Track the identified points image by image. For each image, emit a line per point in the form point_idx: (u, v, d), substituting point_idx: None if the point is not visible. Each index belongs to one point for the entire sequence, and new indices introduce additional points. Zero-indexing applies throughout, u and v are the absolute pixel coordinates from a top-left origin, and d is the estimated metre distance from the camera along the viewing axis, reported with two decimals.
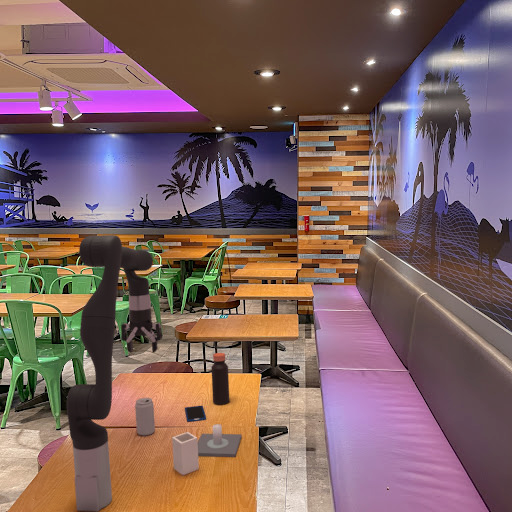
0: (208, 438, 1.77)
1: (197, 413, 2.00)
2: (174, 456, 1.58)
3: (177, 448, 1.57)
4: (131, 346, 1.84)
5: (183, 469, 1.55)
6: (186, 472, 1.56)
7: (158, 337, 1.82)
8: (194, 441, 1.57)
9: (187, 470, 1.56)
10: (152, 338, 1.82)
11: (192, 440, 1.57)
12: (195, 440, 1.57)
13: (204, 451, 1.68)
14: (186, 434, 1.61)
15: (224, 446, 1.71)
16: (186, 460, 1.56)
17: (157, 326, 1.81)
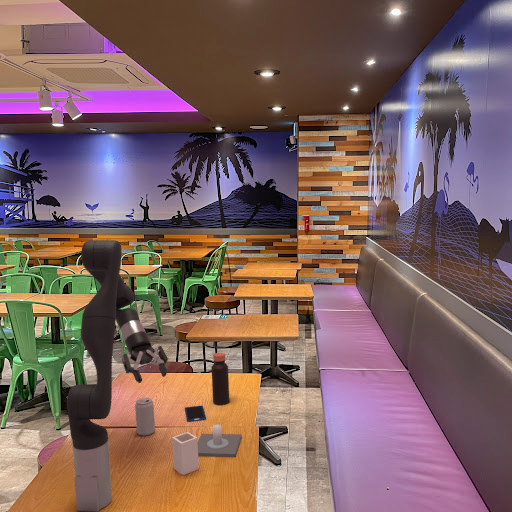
0: (208, 438, 1.77)
1: (197, 413, 2.00)
2: (174, 456, 1.58)
3: (177, 448, 1.57)
4: None
5: (183, 469, 1.55)
6: (186, 472, 1.56)
7: (165, 357, 1.72)
8: (194, 441, 1.57)
9: (187, 470, 1.56)
10: (159, 360, 1.70)
11: (192, 440, 1.57)
12: (195, 440, 1.57)
13: (204, 451, 1.68)
14: (186, 434, 1.61)
15: (224, 446, 1.71)
16: (186, 460, 1.56)
17: (160, 347, 1.73)
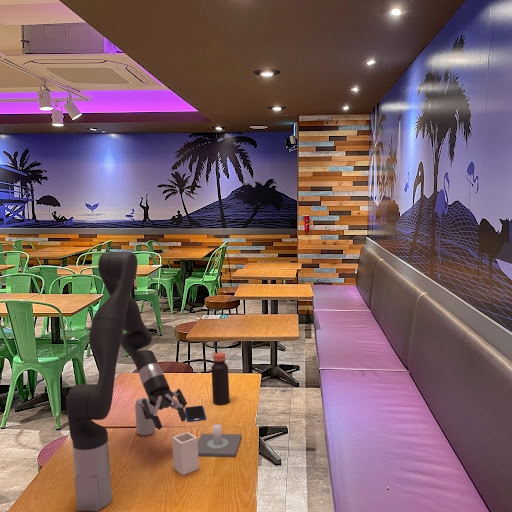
0: (208, 438, 1.77)
1: (197, 413, 2.00)
2: (174, 456, 1.58)
3: (177, 448, 1.57)
4: None
5: (183, 469, 1.55)
6: (186, 472, 1.56)
7: (184, 401, 1.69)
8: (194, 441, 1.57)
9: (187, 470, 1.56)
10: (179, 404, 1.68)
11: (192, 440, 1.57)
12: (195, 440, 1.57)
13: (204, 451, 1.68)
14: (186, 434, 1.61)
15: (224, 446, 1.71)
16: (186, 460, 1.56)
17: (179, 391, 1.71)
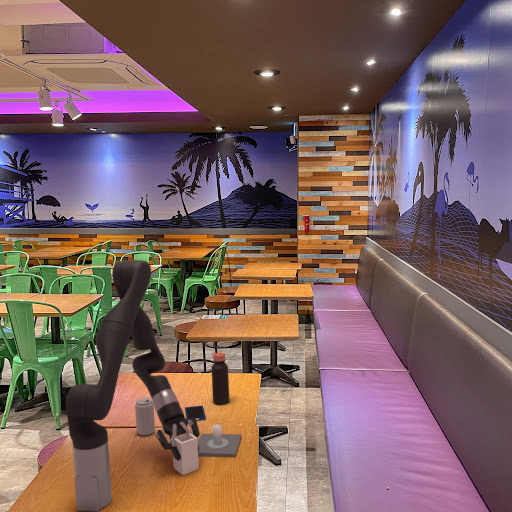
0: (208, 438, 1.77)
1: (197, 413, 2.00)
2: None
3: None
4: None
5: (183, 469, 1.55)
6: (186, 472, 1.56)
7: (197, 432, 1.62)
8: (194, 441, 1.57)
9: (187, 470, 1.56)
10: None
11: (192, 440, 1.57)
12: (195, 440, 1.57)
13: (204, 451, 1.68)
14: (186, 434, 1.61)
15: (224, 446, 1.71)
16: (186, 460, 1.56)
17: (194, 420, 1.65)
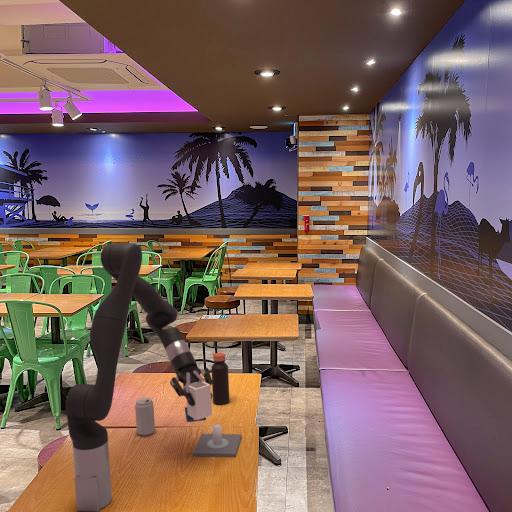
0: (208, 438, 1.77)
1: None
2: None
3: (191, 394, 1.62)
4: None
5: (197, 414, 1.61)
6: (200, 417, 1.62)
7: (210, 381, 1.68)
8: (207, 388, 1.63)
9: (201, 416, 1.62)
10: None
11: (205, 387, 1.62)
12: (208, 387, 1.63)
13: (204, 451, 1.68)
14: (199, 382, 1.66)
15: (224, 446, 1.71)
16: (200, 406, 1.61)
17: (207, 370, 1.70)
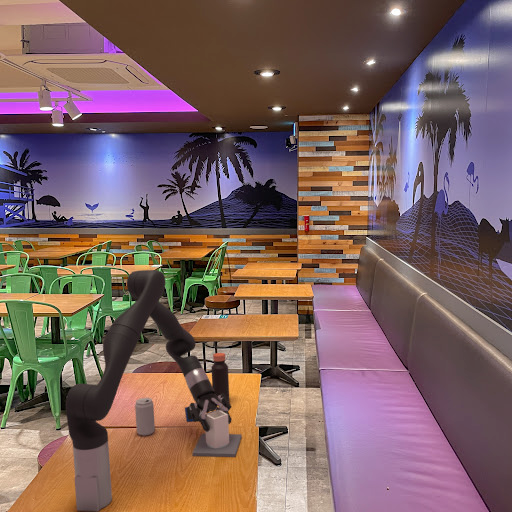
0: None
1: None
2: None
3: (209, 424, 1.70)
4: None
5: (215, 443, 1.69)
6: (218, 446, 1.70)
7: (229, 405, 1.77)
8: (225, 417, 1.71)
9: (219, 444, 1.70)
10: (224, 407, 1.76)
11: (223, 416, 1.71)
12: (226, 416, 1.71)
13: (204, 451, 1.68)
14: (217, 411, 1.75)
15: (224, 446, 1.71)
16: (218, 435, 1.70)
17: (224, 395, 1.79)
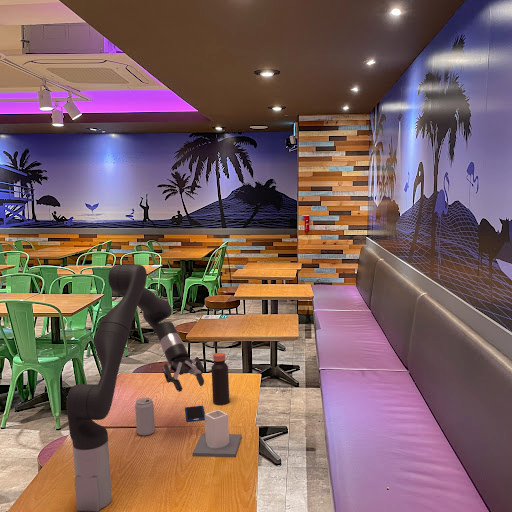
0: None
1: (197, 413, 2.00)
2: (206, 431, 1.72)
3: (209, 424, 1.70)
4: None
5: (215, 443, 1.69)
6: (218, 446, 1.70)
7: (202, 368, 1.84)
8: (225, 417, 1.71)
9: (219, 444, 1.70)
10: (197, 370, 1.83)
11: (223, 416, 1.71)
12: (226, 416, 1.71)
13: (204, 451, 1.68)
14: (217, 411, 1.75)
15: (224, 446, 1.71)
16: (218, 435, 1.70)
17: (197, 359, 1.86)
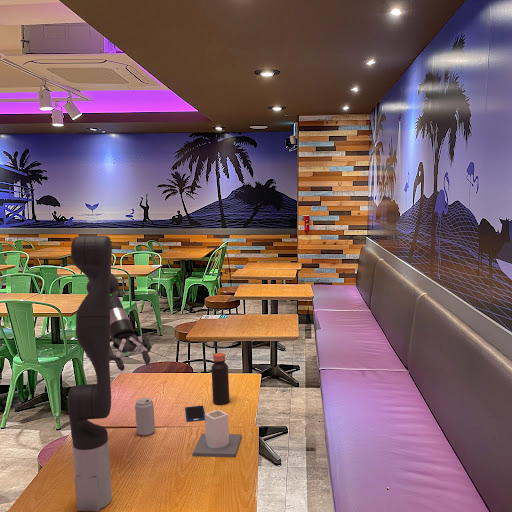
0: None
1: (197, 413, 2.00)
2: (206, 431, 1.72)
3: (209, 424, 1.70)
4: None
5: (215, 443, 1.69)
6: (218, 446, 1.70)
7: (149, 345, 1.69)
8: (225, 417, 1.71)
9: (219, 444, 1.70)
10: (143, 348, 1.67)
11: (223, 416, 1.71)
12: (226, 416, 1.71)
13: (204, 451, 1.68)
14: (217, 411, 1.75)
15: (224, 446, 1.71)
16: (218, 435, 1.70)
17: (144, 335, 1.71)
